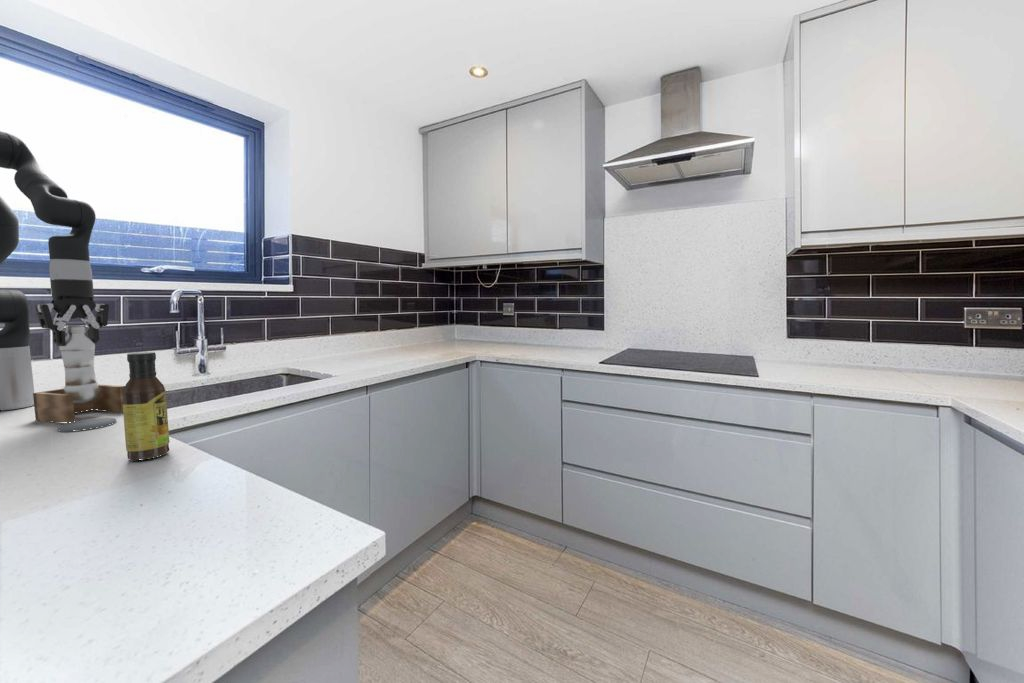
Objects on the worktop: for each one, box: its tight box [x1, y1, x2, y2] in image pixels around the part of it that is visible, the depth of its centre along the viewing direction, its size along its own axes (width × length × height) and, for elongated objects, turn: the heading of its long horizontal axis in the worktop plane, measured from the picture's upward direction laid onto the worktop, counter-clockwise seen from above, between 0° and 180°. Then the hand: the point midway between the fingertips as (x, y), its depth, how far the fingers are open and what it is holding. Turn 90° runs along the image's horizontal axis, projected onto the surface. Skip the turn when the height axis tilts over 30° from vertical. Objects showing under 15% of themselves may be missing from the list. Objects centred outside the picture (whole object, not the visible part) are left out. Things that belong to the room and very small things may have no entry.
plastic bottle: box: [58, 324, 100, 403], centre depth 110 cm, size 6×7×20 cm
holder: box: [33, 384, 125, 423], centre depth 111 cm, size 12×12×7 cm
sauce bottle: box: [123, 351, 170, 461], centre depth 80 cm, size 6×6×20 cm
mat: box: [57, 417, 117, 432], centre depth 102 cm, size 10×10×1 cm
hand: (77, 344), depth 109 cm, fingers closed on plastic bottle, 6 cm apart
